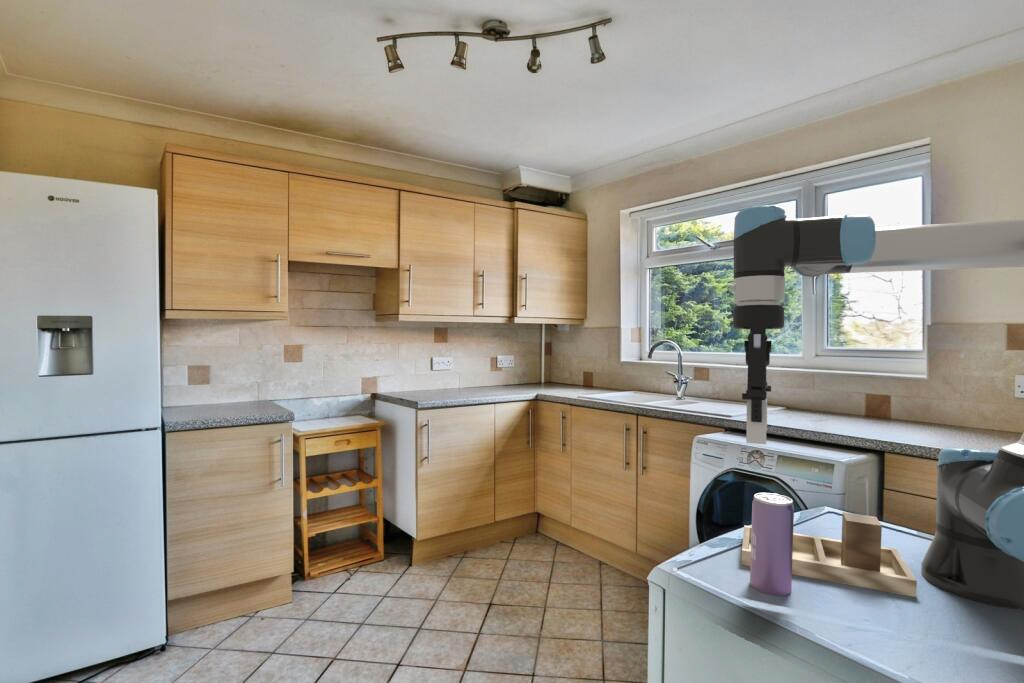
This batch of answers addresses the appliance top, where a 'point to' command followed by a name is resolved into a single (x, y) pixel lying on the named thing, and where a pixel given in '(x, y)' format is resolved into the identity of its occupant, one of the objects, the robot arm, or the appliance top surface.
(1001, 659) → the appliance top surface
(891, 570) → the rack
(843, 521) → the walnut block
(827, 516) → the appliance top surface
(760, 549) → the beverage can
